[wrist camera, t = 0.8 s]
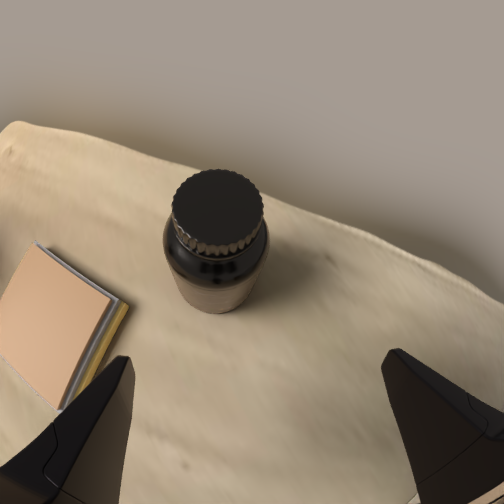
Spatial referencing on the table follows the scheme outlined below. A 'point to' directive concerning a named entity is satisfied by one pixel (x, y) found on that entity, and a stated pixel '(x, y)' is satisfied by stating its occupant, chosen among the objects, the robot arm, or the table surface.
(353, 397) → the table surface
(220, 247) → the supplement bottle
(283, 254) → the table surface
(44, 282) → the note pad
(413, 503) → the condiment
